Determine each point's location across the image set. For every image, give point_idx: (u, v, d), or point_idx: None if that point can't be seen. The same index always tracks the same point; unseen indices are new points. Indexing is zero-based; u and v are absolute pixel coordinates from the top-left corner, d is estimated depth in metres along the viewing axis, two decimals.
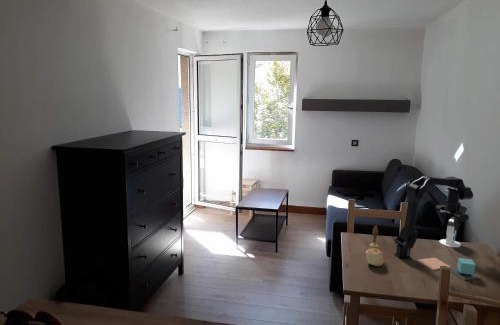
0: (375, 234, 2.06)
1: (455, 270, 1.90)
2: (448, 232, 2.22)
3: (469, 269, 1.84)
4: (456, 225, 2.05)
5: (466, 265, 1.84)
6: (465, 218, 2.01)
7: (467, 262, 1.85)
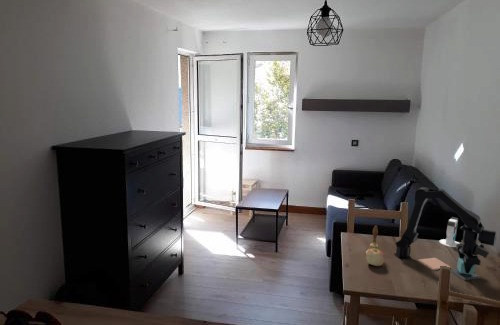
0: (375, 234, 2.06)
1: (455, 270, 1.90)
2: (448, 232, 2.22)
3: None
4: (466, 267, 1.83)
5: None
6: (474, 262, 1.77)
7: None
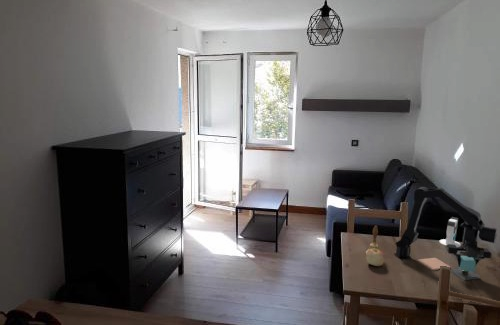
0: (375, 234, 2.06)
1: (455, 270, 1.90)
2: (448, 232, 2.22)
3: (460, 263, 1.87)
4: (456, 259, 1.88)
5: None
6: (447, 249, 1.87)
7: (463, 258, 1.86)
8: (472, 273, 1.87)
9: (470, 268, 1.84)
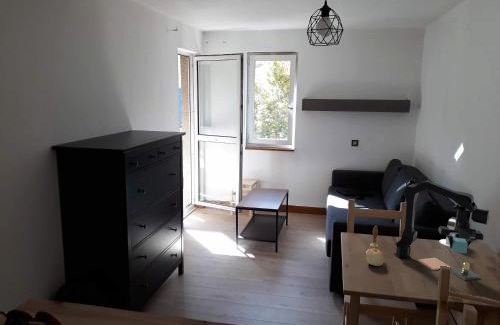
0: (375, 234, 2.06)
1: (455, 270, 1.90)
2: None
3: (452, 245, 1.88)
4: None
5: (452, 240, 1.89)
6: (439, 231, 1.89)
7: (456, 239, 1.88)
8: (472, 273, 1.87)
9: (462, 250, 1.85)
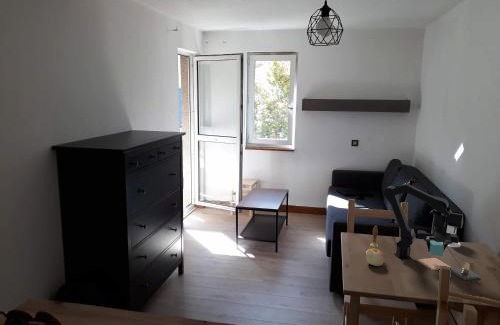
0: (375, 234, 2.06)
1: (455, 270, 1.90)
2: (448, 232, 2.22)
3: None
4: None
5: None
6: (417, 235, 1.97)
7: (433, 243, 1.96)
8: (472, 273, 1.87)
9: (439, 252, 1.94)
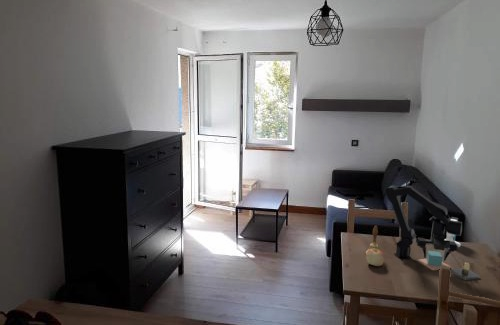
0: (375, 234, 2.06)
1: (455, 270, 1.90)
2: None
3: (428, 258, 1.98)
4: None
5: (428, 253, 1.99)
6: (417, 242, 1.98)
7: (432, 253, 1.98)
8: (472, 273, 1.87)
9: (437, 263, 1.95)
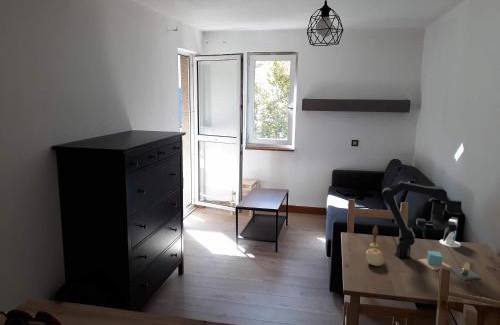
0: (375, 234, 2.06)
1: (455, 270, 1.90)
2: None
3: (428, 258, 1.98)
4: None
5: (428, 253, 1.99)
6: (416, 222, 2.01)
7: (432, 253, 1.98)
8: (472, 273, 1.87)
9: (437, 263, 1.95)
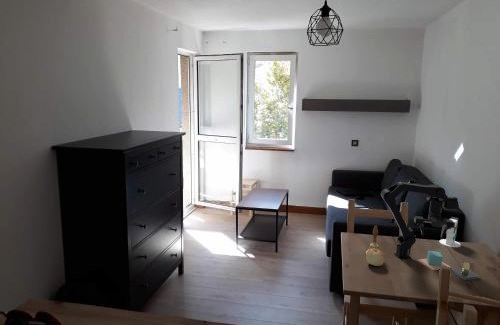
0: (375, 234, 2.06)
1: (455, 270, 1.90)
2: (448, 232, 2.22)
3: (428, 258, 1.98)
4: None
5: (428, 253, 1.99)
6: (414, 220, 2.04)
7: (432, 253, 1.98)
8: (472, 273, 1.87)
9: (437, 263, 1.95)
